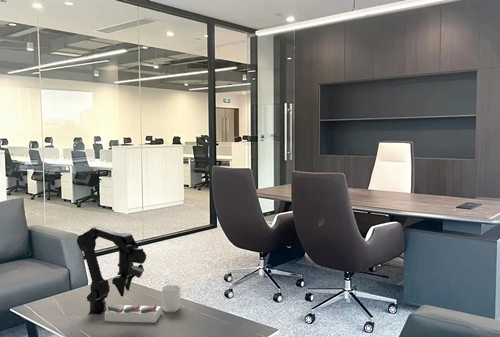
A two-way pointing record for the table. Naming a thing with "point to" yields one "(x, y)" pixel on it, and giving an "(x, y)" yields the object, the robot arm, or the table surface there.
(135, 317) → the power strip
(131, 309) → the rocker
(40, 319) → the table surface
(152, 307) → the rocker
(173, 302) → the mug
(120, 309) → the rocker
